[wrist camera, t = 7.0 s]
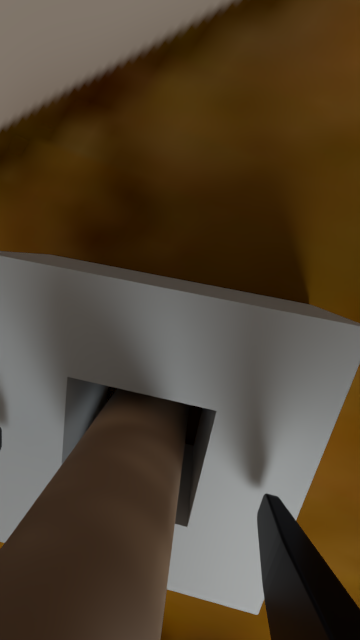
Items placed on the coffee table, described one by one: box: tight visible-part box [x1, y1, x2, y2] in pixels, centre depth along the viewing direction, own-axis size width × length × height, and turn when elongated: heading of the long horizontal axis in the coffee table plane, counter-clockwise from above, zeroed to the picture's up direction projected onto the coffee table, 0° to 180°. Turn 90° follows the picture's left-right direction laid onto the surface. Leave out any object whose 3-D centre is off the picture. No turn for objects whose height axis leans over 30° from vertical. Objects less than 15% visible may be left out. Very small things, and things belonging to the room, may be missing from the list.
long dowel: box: [0, 388, 190, 640], centre depth 8 cm, size 4×4×9 cm
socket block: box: [0, 251, 360, 615], centre depth 10 cm, size 12×12×4 cm
